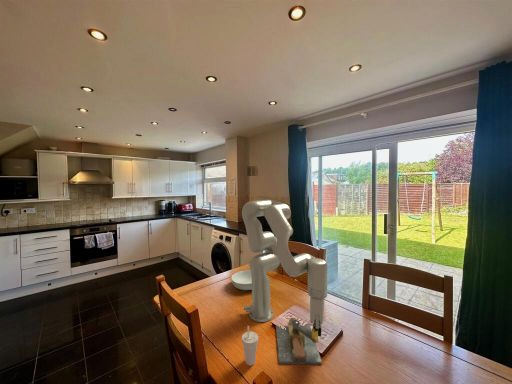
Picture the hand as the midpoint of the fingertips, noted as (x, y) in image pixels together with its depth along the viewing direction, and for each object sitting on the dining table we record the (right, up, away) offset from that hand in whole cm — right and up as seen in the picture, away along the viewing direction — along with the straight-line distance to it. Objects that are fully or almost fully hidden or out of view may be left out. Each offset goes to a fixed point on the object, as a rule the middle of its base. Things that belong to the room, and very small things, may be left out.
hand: (317, 334), depth 85 cm
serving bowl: (-31, -6, +56) cm, 64 cm away
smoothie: (-27, -8, -4) cm, 28 cm away
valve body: (-8, -7, +4) cm, 11 cm away
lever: (-5, -1, 0) cm, 5 cm away
